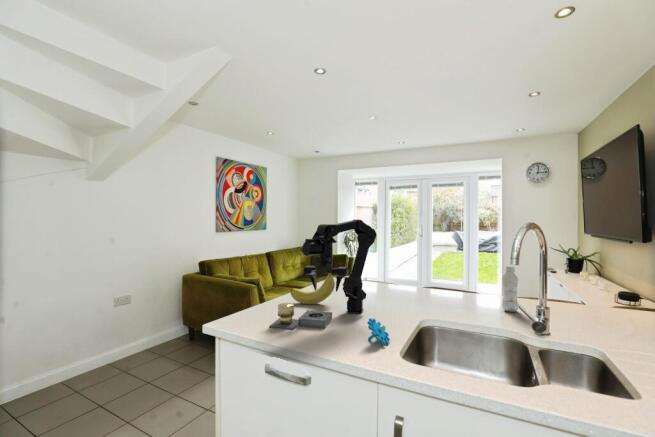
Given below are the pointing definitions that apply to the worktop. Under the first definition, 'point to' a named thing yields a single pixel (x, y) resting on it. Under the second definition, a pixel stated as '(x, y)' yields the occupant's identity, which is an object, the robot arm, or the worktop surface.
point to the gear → (378, 331)
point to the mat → (278, 325)
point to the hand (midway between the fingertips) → (326, 290)
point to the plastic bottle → (510, 290)
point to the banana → (315, 292)
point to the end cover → (286, 313)
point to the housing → (315, 319)
